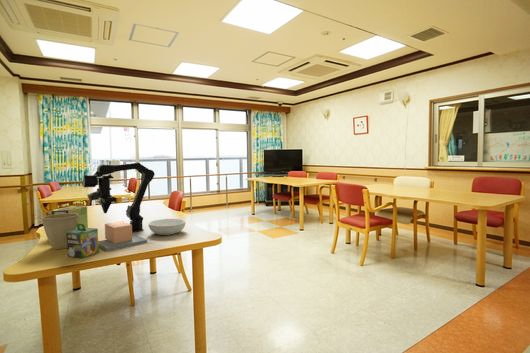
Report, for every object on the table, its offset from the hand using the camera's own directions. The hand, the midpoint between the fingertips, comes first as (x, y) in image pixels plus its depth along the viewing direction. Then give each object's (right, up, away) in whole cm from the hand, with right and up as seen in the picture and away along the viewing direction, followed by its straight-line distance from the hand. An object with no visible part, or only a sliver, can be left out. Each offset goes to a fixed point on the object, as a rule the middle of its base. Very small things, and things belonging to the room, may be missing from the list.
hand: (105, 213), depth 165 cm
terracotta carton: (+9, -8, -8) cm, 15 cm away
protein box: (-22, -13, +4) cm, 26 cm away
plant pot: (-10, -15, -21) cm, 28 cm away
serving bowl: (+34, -13, +6) cm, 37 cm away
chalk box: (+8, -15, -32) cm, 37 cm away
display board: (+17, -14, -15) cm, 27 cm away
